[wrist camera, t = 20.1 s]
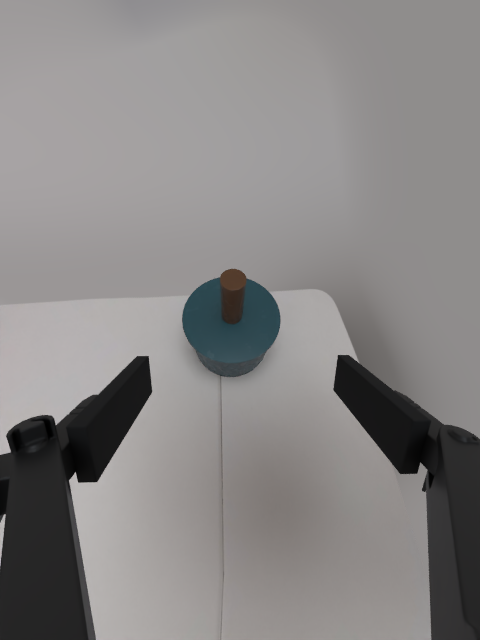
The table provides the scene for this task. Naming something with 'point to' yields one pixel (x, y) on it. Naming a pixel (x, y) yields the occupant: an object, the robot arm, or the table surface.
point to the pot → (230, 366)
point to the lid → (231, 319)
